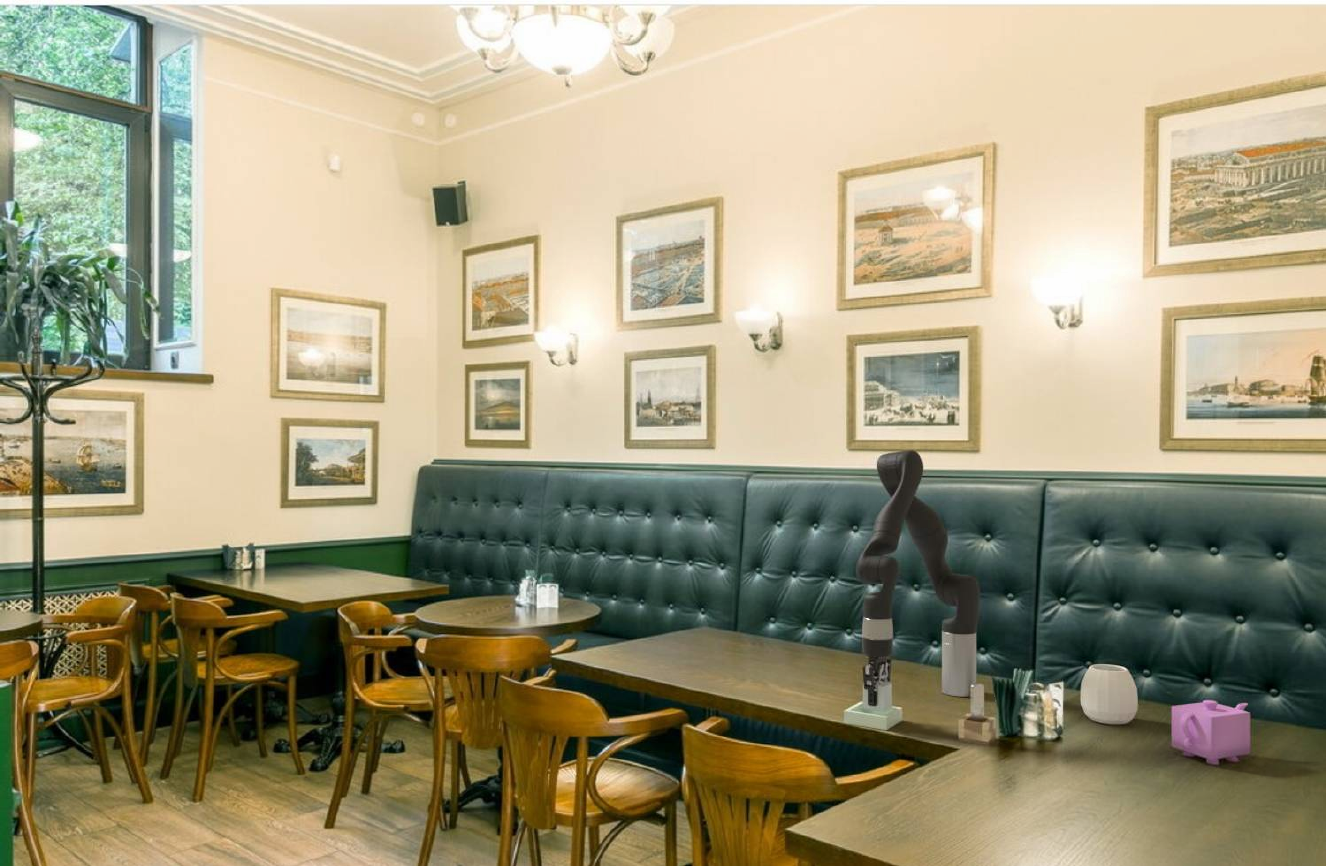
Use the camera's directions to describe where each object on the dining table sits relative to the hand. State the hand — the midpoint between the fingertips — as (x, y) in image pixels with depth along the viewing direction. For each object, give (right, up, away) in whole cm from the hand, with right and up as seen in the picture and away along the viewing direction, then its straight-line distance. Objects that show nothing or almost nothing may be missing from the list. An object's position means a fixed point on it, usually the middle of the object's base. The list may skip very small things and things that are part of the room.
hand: (877, 702), depth 249 cm
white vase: (+59, -5, +2) cm, 59 cm away
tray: (-1, -5, +1) cm, 5 cm away
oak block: (+21, -5, -14) cm, 25 cm away
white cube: (0, -1, 0) cm, 1 cm away
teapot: (+70, -5, -26) cm, 75 cm away
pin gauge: (+21, -4, -14) cm, 25 cm away
